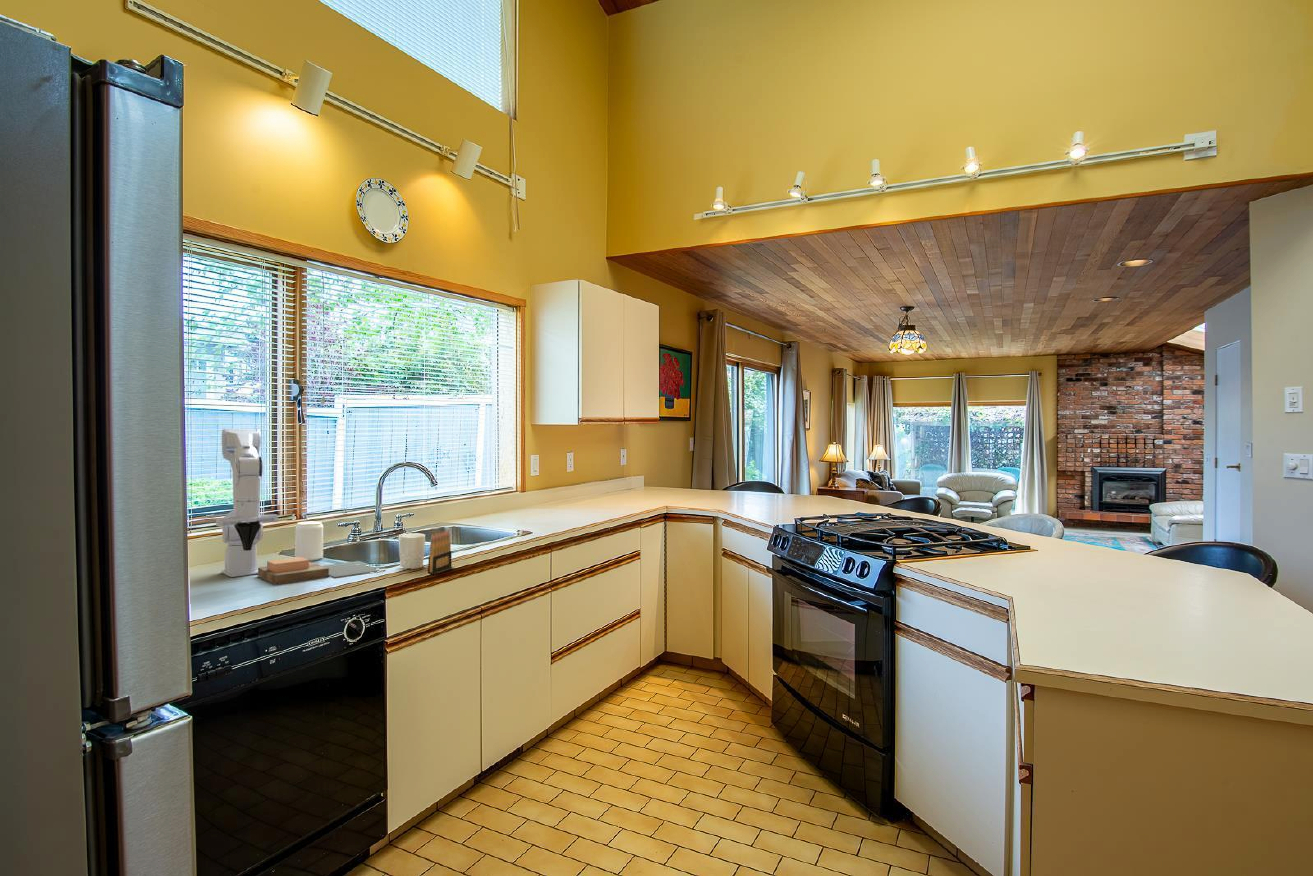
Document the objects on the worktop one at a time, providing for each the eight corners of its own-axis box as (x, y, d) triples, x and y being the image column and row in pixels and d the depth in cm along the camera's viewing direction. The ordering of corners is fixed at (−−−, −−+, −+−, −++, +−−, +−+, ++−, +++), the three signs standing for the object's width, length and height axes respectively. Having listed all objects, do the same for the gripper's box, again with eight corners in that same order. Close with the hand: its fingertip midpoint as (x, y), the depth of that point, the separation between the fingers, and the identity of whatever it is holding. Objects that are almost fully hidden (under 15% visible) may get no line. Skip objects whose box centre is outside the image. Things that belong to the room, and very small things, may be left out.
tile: (266, 569, 187) (267, 561, 187) (300, 565, 194) (300, 556, 194) (274, 572, 183) (274, 564, 183) (308, 568, 190) (308, 559, 190)
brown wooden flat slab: (258, 576, 189) (258, 567, 189) (309, 569, 200) (309, 561, 200) (275, 584, 180) (276, 575, 180) (328, 576, 190) (328, 568, 190)
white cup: (398, 570, 201) (399, 537, 201) (397, 565, 208) (398, 534, 208) (425, 568, 205) (426, 536, 204) (423, 563, 212) (424, 532, 212)
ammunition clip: (433, 573, 197) (434, 534, 197) (427, 573, 198) (428, 533, 198) (451, 566, 208) (452, 529, 208) (446, 566, 208) (447, 528, 208)
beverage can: (303, 562, 209) (304, 525, 209) (289, 559, 214) (290, 522, 213) (327, 559, 216) (328, 522, 216) (314, 556, 220) (315, 520, 220)
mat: (309, 568, 201) (309, 567, 201) (358, 562, 212) (358, 560, 212) (334, 578, 189) (334, 577, 189) (385, 570, 200) (385, 569, 200)
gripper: (222, 503, 172) (221, 555, 173) (282, 500, 183) (281, 548, 183) (213, 501, 177) (213, 551, 177) (272, 498, 188) (272, 545, 188)
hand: (247, 550), depth 181 cm, fingers closed
